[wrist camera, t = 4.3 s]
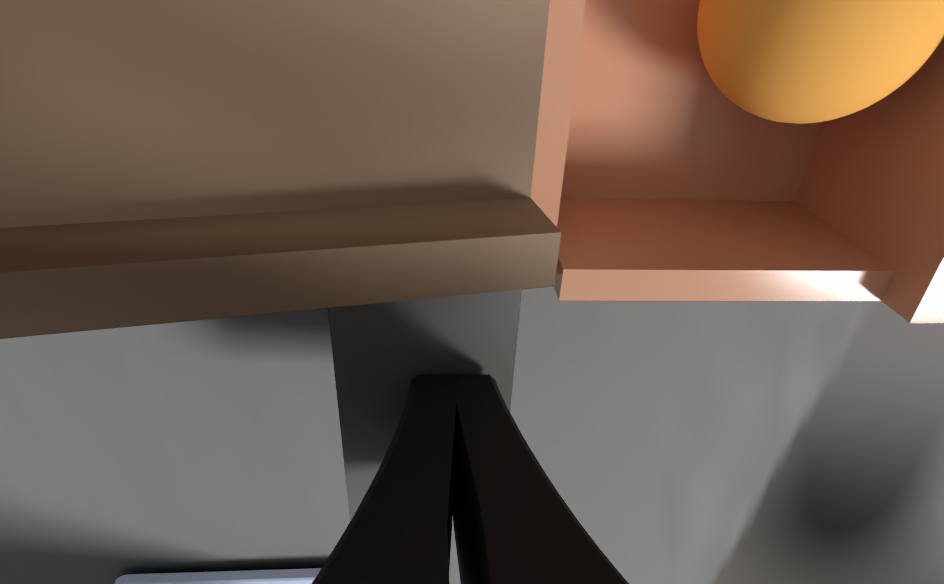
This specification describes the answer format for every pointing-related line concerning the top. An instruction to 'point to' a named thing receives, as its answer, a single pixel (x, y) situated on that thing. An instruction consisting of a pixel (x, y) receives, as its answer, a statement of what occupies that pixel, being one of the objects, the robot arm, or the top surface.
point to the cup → (728, 176)
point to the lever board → (280, 179)
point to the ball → (815, 52)
